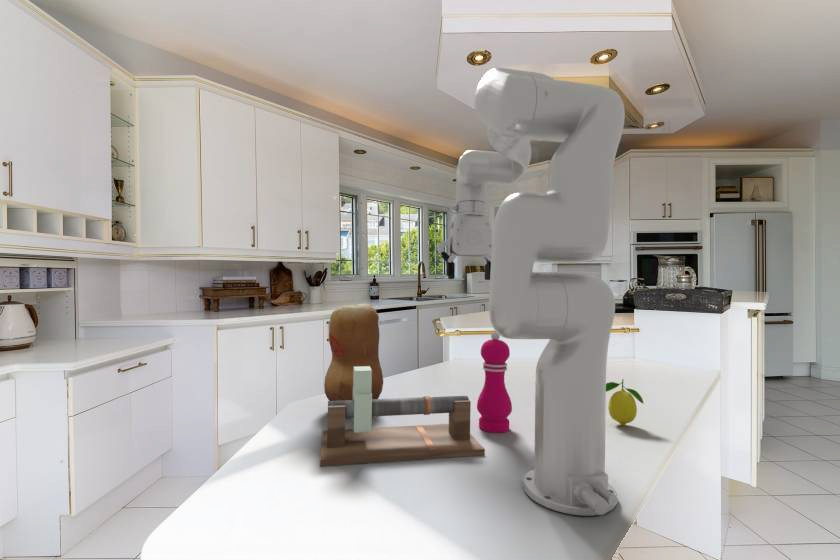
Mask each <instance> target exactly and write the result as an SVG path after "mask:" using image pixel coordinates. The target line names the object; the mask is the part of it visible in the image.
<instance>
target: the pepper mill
mask: <svg viewBox="0 0 840 560" xmlns="http://www.w3.org/2000/svg"><path fill="white" fill-rule="evenodd" d="M490 338H491V339H488V340H486V341H485V342H483V344H482V345H481V348H480V355H481V358H482V359H483V360H484V362H482V365H483V367H482V369H483V370H484V376H485V377H484V385H483V387H482V389H481V392H480V393H479V395H478V398H477V402H476V410H477V412H478V413H479V414H480V417H479V418H478V428H479V429H480V430H482V431H483V432H486V433H487V432H488V433H493V434H501V433H506V432H508V431H509V430H510V419H508V417H509V416H510V415H511V413H512V412H513V404H512V400H511V397H510V394H509V392H508V389H507V388H506V384H505V376H506V375H505V374H506V373H505V372H507V371H508V367H507V366H508V363H507V360H508V359H509V358H510V354H511V353H510V352H511V351H510V347H509V345H508V344H507V342H505V341H503V340H501V339H500V335H499V334H498V333H497V332H496V331H493V332H492V333H491V335H490Z"/></svg>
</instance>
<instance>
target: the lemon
mask: <svg viewBox="0 0 840 560" xmlns="http://www.w3.org/2000/svg"><path fill="white" fill-rule="evenodd" d="M621 380H622V381H621V383H617V382H614V381H611V382H610V381H609V382H606V393H607V392H609V391H613V390H615V389H616V388H618V387H619V386H620V385H621V389H620V390H618V391H616V392H614V393H612V395H611V397H610V398H609V401H608V406H607V407H608V413H609V416H610V417H611V419H612V420H614V421H615V422H617V423H619V425H620V426H621V425H624V426H625V425H626V424H629V423H631V422H633V421H634V420H635V419H636V416H637V413H638V408H637V404H636V401H635V399H636V400H637V401H639V403H641V404H643V405H644V400H643V398H642V396H641V394H640V393H639V392H638V391H636V390H635V389H633V388H626V387H625V386H624V378H622V379H621Z"/></svg>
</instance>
